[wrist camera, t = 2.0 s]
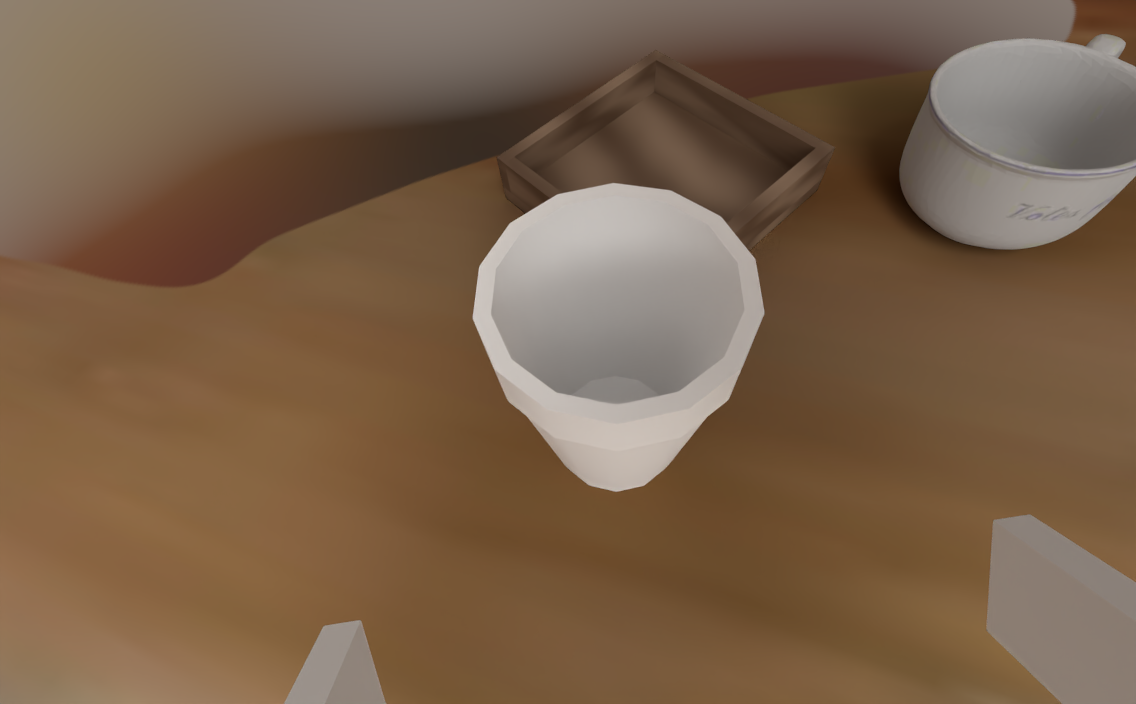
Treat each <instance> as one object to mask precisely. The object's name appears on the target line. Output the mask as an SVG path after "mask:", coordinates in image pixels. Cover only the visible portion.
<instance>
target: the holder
mask: <svg viewBox="0 0 1136 704" xmlns="http://www.w3.org/2000/svg"><path fill="white" fill-rule="evenodd" d="M834 149H835V147H833V146H831V145H830V144H828V143H826V142H824V141H822V140H820V139H819V138H817V137H815V136H813V135H811V134H809V133H808V132H806V131H804V130H802V129H800V128H798V127H796V126H795V125H793V124H791V123H789V122H787V121H785V120H784V119H782V118H780V117H778V116H776V115H774V114H773V113H771V112H769V111H767V110H765V109H763V108H762V107H760V106H758V105H756V104H754V103H752V102H751V101H749V100H747V99H745V98H743V97H741V96H740V95H738V94H736V93H734V92H732V91H730V90H728V89H726V88H725V87H723V86H721V85H719V84H717V83H716V82H713V81H712V80H710V79H708V78H706V77H704V76H703V75H701V74H699V73H697V72H695V71H693V70H692V69H690V68H688V67H686V66H684V65H683V64H681V63H679V62H677V61H675V60H673V59H671V58H670V57H668V56H666V55H664V54H662V53H660V52H658V51H657V50H655V51H654V52H652V53H651V54H649V55H648V56H646V57H645V58H643V59H642V60H640V61H639V62H637V63H636V64H634V65H633V66H631V67H630V68H628V69H627V70H625V71H624V72H622V73H621V74H620V75H618V76H617V77H615V78H614V79H612V80H611V81H609V82H608V83H606V84H605V85H603V86H602V87H600V88H599V89H597V90H596V91H594V92H593V93H591V94H590V95H588V96H587V97H585V98H584V99H582V100H581V101H579V102H578V103H577V104H575V105H573V106H572V107H571V108H569V109H568V110H566V111H565V112H563V113H562V114H560V115H559V116H557V117H556V118H554V119H553V120H551V121H550V122H548V123H547V124H545V125H544V126H542V127H541V128H539V129H538V130H536V131H535V132H533V133H532V134H531V135H529V136H528V137H526V138H525V139H523V140H522V141H520V142H519V143H517V144H516V145H514V146H513V147H511V148H510V149H508V150H507V151H505V152H504V153H502V154H501V155H499V156H498V157H497V161H498V166H499V170H500V174H501V178H502V183H503V187H504V191H505V196H506V198H507V199H508V200H510V201H511V202H512V203H513V204H515V205H516V206H517V207H518V208H520V209H521V210H522V211H523V212H525V213H527V212H529V211H531V210H532V209H534V208H536V207H537V206H539V205H541V204H542V203H544V202H546V201H547V200H549V199H550V198H552V197H554V196H555V195H557V194H562V193H566V192H571V191H576V190H581V189H586V188H591V187H596V186H601V185H606V184H611V183H617V184H625V185H633V186H641V187H648V188H656V189H664V190H671V191H673V192H675V193H677V194H679V195H681V196H682V197H684V198H686V199H688V200H690V201H692V202H694V203H696V204H698V205H700V206H702V207H704V208H706V209H708V210H709V211H711V212H713V213H715V214H717V215H719V216H721V217H722V218H723V220H724V221H725V222H726V223H727V225H728V226H729V227H730V228H731V230H732V231H733V232H734V233H735V235H736V236H737V237H738V238H739V239H740V241H741V242H742V243H743V244H744V246H745V247H746V248H747V249H748V251H749V250H750V249H751V248H752V247H753V246H754V245H756V244H757V243H758V242H759V241H760V240H761V239H762V238H763V237H765V236H766V235H767V234H768V233H769V232H770V231H771V230H773V229H774V228H775V227H776V226H777V225H778V224H779V223H781V222H782V221H783V220H784V219H785V218H786V217H787V216H788V215H790V214H791V213H792V212H793V211H794V210H795V209H796V208H798V207H799V206H800V205H801V204H802V203H803V202H804V201H805V200H807V199H808V198H809V197H810V196H811V195H812V194H813V193H815V192H816V191H817V189H818V187H819V184H820V182H821V180H822V177H823V175H824V173H825V170H826V168H827V165H828V163H829V161H830V158H831V156H832V154H833V151H834Z"/></svg>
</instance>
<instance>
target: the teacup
mask: <svg viewBox="0 0 1136 704" xmlns="http://www.w3.org/2000/svg"><path fill="white" fill-rule="evenodd" d="M1125 44H1126V43H1125V42H1124V41H1123V40H1122V39H1121V38H1119V37H1116V36H1113V35H1108V34H1100V35H1098V36H1096V37H1095V38H1093V39H1092V40H1091V41H1090V42H1089V43H1088V44H1087V46H1086V47H1085V46H1082V45H1078V44H1073V43H1067V42H1059V41H1055V40H1044V39H1033V38H1026V39H1010V40H1001V41H994V42H988V43H985V44H980V45H977V46H973V47H971V48H968V49H966V50H964V51H961V52H958V53H957V54H955V55H954V56H952V57H950V58H949V59H948V60H946V61H945V62H944V63H943V64H942V65H941V66H940V67H939V68H938V70H937V71H936V73H935V74H934V76H933V78H932V79H931V82H930V86H929V90H928V95H927V97H926V99H925V101H924V103H923V105H922V107H921V109H920V112H919V114H918V116H917V118H916V121H915V123H914V125H913V128H912V130H911V132H910V135H909V137H908V140H907V143H906V145H905V148H904V151H903V154H902V158H901V162H900V169H899V179H900V185H901V189H902V192H903V194H904V197H905V199H906V201H907V203H908V204H909V206H910V207H911V208H912V210H913V211H914V212H915V213H916V214H917V215H918V216H919V217H920V218H921V219H922V220H923V221H924V222H925V223H927V224H928V225H929V226H930V227H932V228H933V229H934V230H936V231H937V232H939V233H940V234H942V235H944V236H946V237H948V238H950V239H952V240H955V241H958V242H960V243H963V244H968V245H972V246H978V247H983V248H992V249H1023V248H1030V247H1036V246H1040V245H1044V244H1047V243H1050V242H1053V241H1055V240H1058V239H1060V238H1062V237H1064V236H1066V235H1068V234H1070V233H1072V232H1073V231H1075V230H1077V229H1078V228H1080V227H1081V226H1082V225H1084V224H1085V223H1086V222H1088V221H1089V220H1090V219H1091V218H1092V217H1094V216H1095V215H1096V214H1097V213H1098V212H1099V211H1100V210H1101V209H1103V208H1104V207H1105V206H1106V205H1107V204H1108V203H1109V202H1110V201H1111V200H1112V199H1113V198H1114V197H1115V196H1116V195H1117V194H1118V193H1119V192H1120V191H1121V190H1122V189H1123V188H1124V187H1125V186H1126V185H1127V184H1128V183H1129V182H1130V181H1131V180H1132V179H1133V178H1134V177H1135V176H1136V67H1135V66H1133V65H1131V64H1128V63H1126V62H1124V61H1122V60H1120V59H1118V57H1119V56H1120V54H1121V53H1122V51H1123V50H1124V48H1125Z"/></svg>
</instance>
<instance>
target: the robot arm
mask: <svg viewBox="0 0 1136 704" xmlns="http://www.w3.org/2000/svg"><path fill="white" fill-rule="evenodd" d="M987 631H988V632H989V633H990V634H991V635H992V636H993V637H994V638H995V639H996V640H997V641H998V642H999V643H1000V644H1001V645H1002V646H1003V647H1004V648H1005V649H1006V650H1007V651H1008V652H1009V653H1010V654H1011V655H1012V656H1013V657H1014V658H1015V659H1017V660H1018V661H1019V662H1020V663H1021V664H1022V665H1023V666H1024V667H1025V668H1026V669H1027V670H1028V671H1029V672H1030V673H1031V674H1032V675H1033V676H1034V677H1035V678H1036V679H1037V680H1038V681H1039V682H1040V683H1041V684H1042V685H1043V686H1044V687H1045V688H1046V689H1048V690H1049V691H1050V692H1051V693H1052V694H1053V695H1054V696H1055V697H1056V698H1057V699H1058V700H1059V701H1060V702H1061V703H1062V704H1136V582H1134V581H1133V580H1131V579H1129V578H1128V577H1126V576H1125V575H1123V574H1122V573H1120V572H1119V571H1117V570H1115V569H1114V568H1112V567H1111V566H1109V565H1108V564H1106V563H1105V562H1103V561H1101V560H1100V559H1098V558H1097V557H1095V556H1094V555H1092V554H1091V553H1089V552H1088V551H1086V550H1084V549H1083V548H1081V547H1080V546H1078V545H1077V544H1075V543H1074V542H1072V541H1070V540H1069V539H1067V538H1066V537H1064V536H1063V535H1061V534H1060V533H1058V532H1056V531H1055V530H1053V529H1052V528H1050V527H1049V526H1047V525H1046V524H1044V523H1042V522H1041V521H1039V520H1038V519H1036V518H1035V517H1033V516H1032V515H1030V514H1029V515H1023V516H1017V517H1010V518H1004V519H998V520H993V532H992V549H991V565H990V581H989V597H988V614H987ZM284 704H386V703H385V700H384V696H383V693H382V690H381V686H380V683H379V680H378V676H377V673H376V669H375V666H374V663H373V659H372V656H371V653H370V649H369V646H368V642H367V639H366V636H365V632H364V629H363V626H362V622H361V620H358V621H352V622H345V623H339V624H333V625H326V626H323V628H322V630H321V632H320V634H319V636H318V638H317V640H316V642H315V644H314V646H313V648H312V650H311V652H310V654H309V656H308V658H307V660H306V662H305V664H304V666H303V668H302V670H301V671H300V673H299V675H298V677H297V679H296V681H295V683H294V685H293V687H292V689H291V691H290V693H289V695H288V697H287V699H286V701H285V703H284Z"/></svg>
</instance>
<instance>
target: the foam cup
mask: <svg viewBox="0 0 1136 704" xmlns="http://www.w3.org/2000/svg"><path fill="white" fill-rule="evenodd" d="M763 316H764V307H763V301H762V295H761V289H760V283H759V277H758V272H757V266H756V260H755V258H754V257H753V256H752V254H751V253H750V252H749V251H748V249H747V248H746V247H745V246H744V244H743V243H742V242H741V241H740V239H739V238H738V237H737V236H736V235H735V233H734V232H733V231H732V230H731V228H730V227H729V226H728V225H727V223H726V222H725V221H724V220H723V218H722V217H721V216H719V215H717V214H715V213H713V212H711V211H709V210H708V209H706V208H704V207H702V206H700V205H698V204H696V203H694V202H692V201H690V200H688V199H686V198H684V197H682V196H681V195H679V194H677V193H675V192H673V191H671V190H664V189H656V188H648V187H641V186H633V185H625V184H617V183H611V184H606V185H601V186H596V187H591V188H586V189H581V190H576V191H571V192H566V193H562V194H557V195H555V196H554V197H552V198H550V199H549V200H547V201H546V202H544V203H542V204H541V205H539V206H537V207H536V208H534V209H532V210H531V211H529V212H527V213H526V214H524V215H523V216H521V217H519V218H518V219H516V220H514V221H513V222H511V223H510V224H509V225H508V227H507V228H506V230H505V231H504V232H503V234H502V235H501V237H500V238H499V239H498V241H497V242H496V244H495V245H494V246H493V248H492V249H491V251H490V252H489V253H488V255H487V256H486V258H485V259H484V260H483V262H482V263H481V265H480V266H479V273H478V281H477V288H476V296H475V304H474V312H473V320H474V323H475V325H476V328H477V330H478V332H479V335H480V337H481V340H482V342H483V345H484V347H485V349H486V352H487V354H488V356H489V359H490V361H491V363H492V366H493V368H494V370H495V373H496V375H497V377H498V379H499V382H500V384H501V386H502V389H503V391H504V393H505V396H506V398H507V400H508V402H509V403H511V404H512V405H513V406H515V407H516V408H517V409H518V410H520V411H521V412H522V413H524V414H525V415H526V416H527V417H528V418H529V420H530V421H531V422H532V423H533V425H534V426H535V427H536V429H537V430H538V431H539V432H540V434H541V435H542V436H543V438H544V439H545V440H546V441H547V443H548V444H549V445H550V447H551V448H552V449H553V451H554V452H555V453H556V454H557V456H558V457H559V458H560V460H561V461H562V462H563V463H564V465H565V466H566V467H567V468H568V469H569V470H570V471H572V472H573V473H574V474H575V475H577V476H578V477H579V478H580V479H582V480H583V481H584V482H585V483H587V484H588V485H589V486H594V487H598V488H602V489H607V490H611V491H615V492H618V491H622V490H627V489H631V488H636V487H640V486H644V485H645V484H647V483H648V482H649V481H650V480H652V479H653V478H654V477H655V476H657V475H658V474H659V473H660V472H662V471H663V470H664V469H665V468H666V467H667V466H668V465H669V464H670V462H671V461H672V460H673V459H674V457H675V456H676V455H677V454H678V452H679V451H680V450H681V449H682V447H683V446H684V445H685V444H686V442H687V441H688V440H689V439H690V438H691V436H692V435H693V434H694V433H695V431H696V430H697V429H698V428H699V426H700V425H701V424H702V423H703V421H704V420H705V419H706V418H707V417H708V416H709V415H710V414H711V413H713V412H714V411H715V410H716V409H718V408H719V407H720V406H721V405H723V404H724V403H725V402H726V401H728V400H729V397H730V395H731V393H732V390H733V388H734V386H735V383H736V381H737V378H738V376H739V374H740V371H741V369H742V367H743V364H744V362H745V359H746V357H747V354H748V352H749V350H750V347H751V345H752V342H753V340H754V337H755V335H756V333H757V330H758V328H759V325H760V323H761V320H762V318H763Z"/></svg>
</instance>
